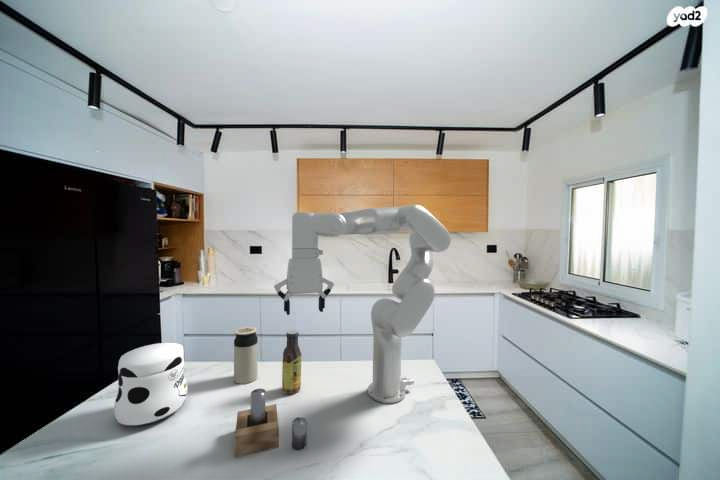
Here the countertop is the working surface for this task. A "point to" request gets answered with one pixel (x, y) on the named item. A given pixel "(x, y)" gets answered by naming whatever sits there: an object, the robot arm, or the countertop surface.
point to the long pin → (257, 407)
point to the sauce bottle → (291, 364)
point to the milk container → (150, 384)
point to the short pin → (299, 433)
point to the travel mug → (245, 355)
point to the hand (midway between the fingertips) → (304, 312)
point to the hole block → (256, 432)
